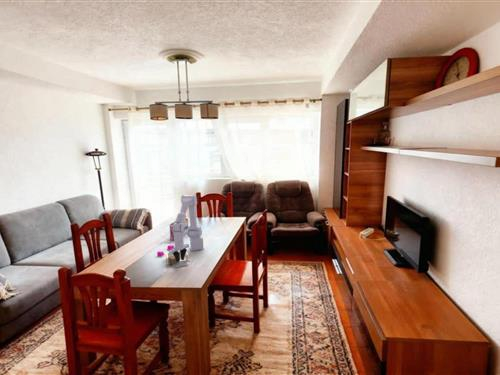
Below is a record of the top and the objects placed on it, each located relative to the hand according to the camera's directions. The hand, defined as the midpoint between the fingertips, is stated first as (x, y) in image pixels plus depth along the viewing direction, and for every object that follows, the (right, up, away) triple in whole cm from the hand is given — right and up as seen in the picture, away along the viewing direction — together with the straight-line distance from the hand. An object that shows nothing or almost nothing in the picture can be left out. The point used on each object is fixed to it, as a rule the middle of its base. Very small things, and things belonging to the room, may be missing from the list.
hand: (180, 260), depth 177 cm
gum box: (-16, +5, +60) cm, 63 cm away
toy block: (-18, -5, +25) cm, 31 cm away
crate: (-4, -2, +9) cm, 10 cm away
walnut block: (-4, 0, +7) cm, 8 cm away
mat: (0, -3, 0) cm, 3 cm away
